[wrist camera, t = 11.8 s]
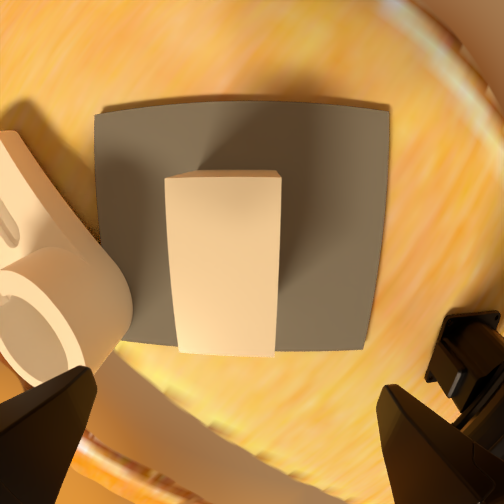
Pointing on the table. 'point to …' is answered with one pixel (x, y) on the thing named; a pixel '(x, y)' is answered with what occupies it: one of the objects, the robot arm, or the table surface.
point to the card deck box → (224, 260)
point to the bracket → (52, 277)
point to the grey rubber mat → (292, 206)
